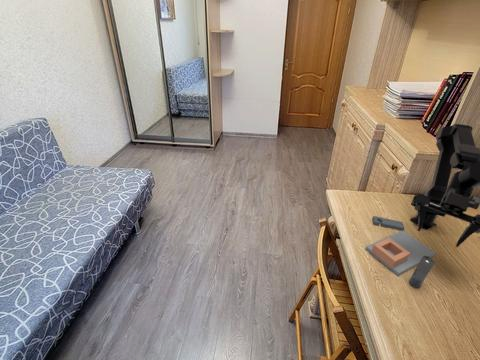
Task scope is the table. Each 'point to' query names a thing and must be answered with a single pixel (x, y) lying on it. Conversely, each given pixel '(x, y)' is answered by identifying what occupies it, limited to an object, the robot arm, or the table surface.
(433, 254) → the socket base
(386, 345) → the table surface
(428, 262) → the peg
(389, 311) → the table surface
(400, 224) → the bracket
